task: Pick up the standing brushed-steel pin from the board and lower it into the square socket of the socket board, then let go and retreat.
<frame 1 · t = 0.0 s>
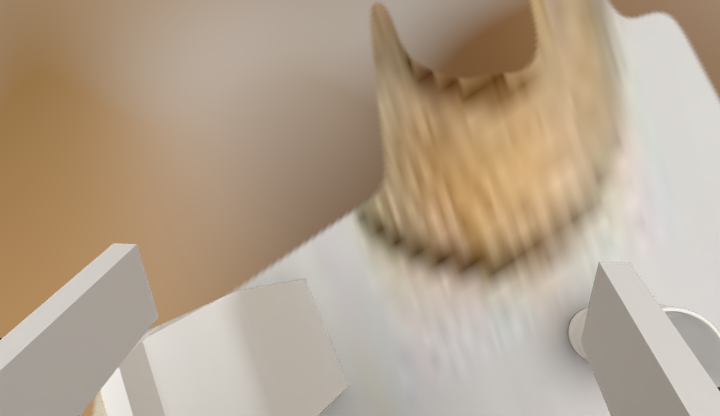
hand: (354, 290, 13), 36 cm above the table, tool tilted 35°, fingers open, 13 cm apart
milk: (278, 352, 49), on the table
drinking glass: (594, 333, 45), on the table
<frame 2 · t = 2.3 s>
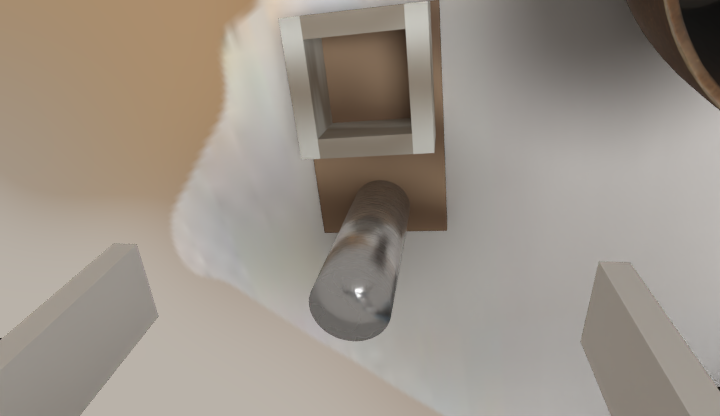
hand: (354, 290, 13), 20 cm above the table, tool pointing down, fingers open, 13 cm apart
pin: (381, 206, 33), point 1 cm above the table, touching socket board
socket board: (377, 126, 32), on the table
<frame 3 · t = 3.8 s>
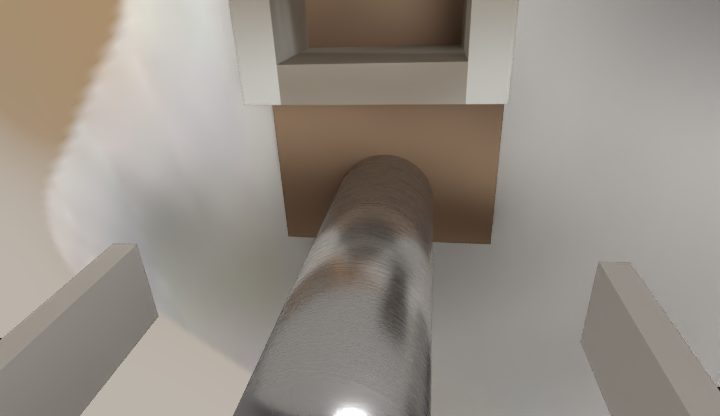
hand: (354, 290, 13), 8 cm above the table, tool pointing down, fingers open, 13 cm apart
pin: (385, 199, 20), point 1 cm above the table, touching socket board
socket board: (386, 60, 18), on the table
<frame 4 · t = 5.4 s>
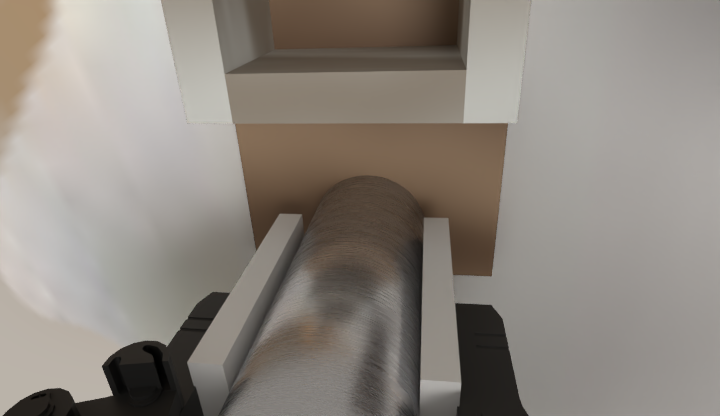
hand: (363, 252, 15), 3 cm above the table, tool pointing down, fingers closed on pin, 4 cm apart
pin: (369, 226, 17), point 1 cm above the table, touching gripper, socket board
socket board: (368, 64, 15), on the table
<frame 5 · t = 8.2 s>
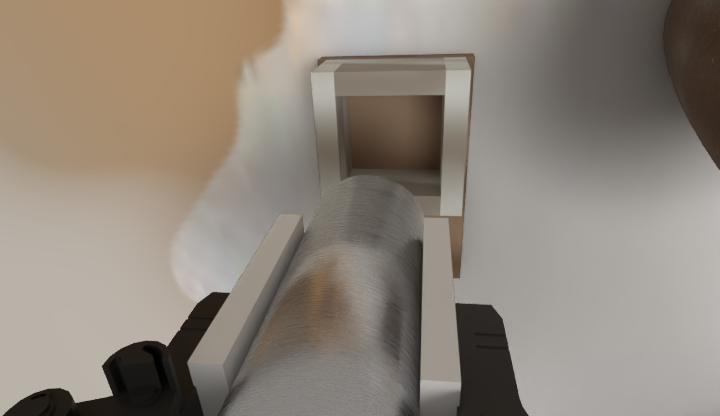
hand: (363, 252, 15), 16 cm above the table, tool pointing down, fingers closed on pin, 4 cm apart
pin: (369, 225, 17), point 14 cm above the table, touching gripper
socket board: (396, 172, 31), on the table
when the fingers open (6 cm above the table, at t = 11.0 s): pin drops 3 cm, resting on socket board.
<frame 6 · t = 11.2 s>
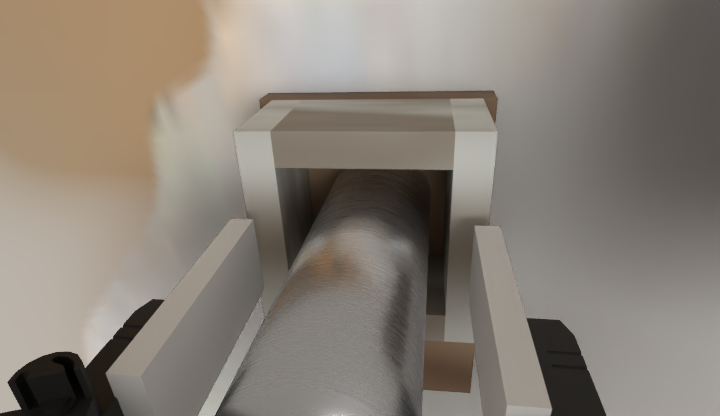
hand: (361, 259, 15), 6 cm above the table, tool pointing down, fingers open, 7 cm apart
pin: (381, 196, 19), point 1 cm above the table, touching socket board
socket board: (381, 251, 22), on the table
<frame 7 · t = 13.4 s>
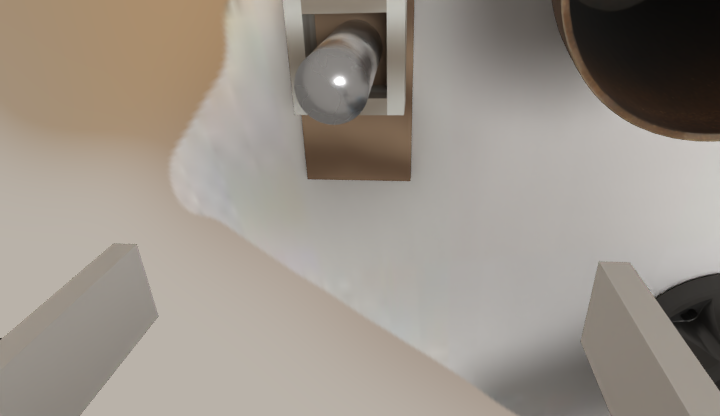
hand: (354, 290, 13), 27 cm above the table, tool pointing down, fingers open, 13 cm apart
pin: (356, 47, 35), point 1 cm above the table, touching socket board
socket board: (356, 90, 38), on the table
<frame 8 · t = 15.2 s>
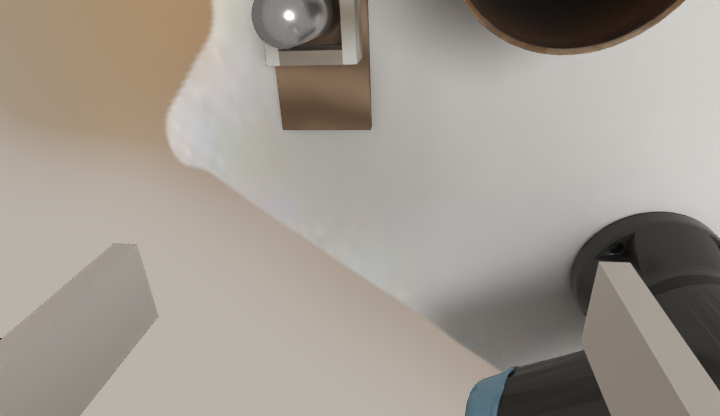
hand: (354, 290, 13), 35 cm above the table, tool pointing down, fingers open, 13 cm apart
pin: (319, 11, 41), point 1 cm above the table, touching socket board
socket board: (322, 50, 44), on the table
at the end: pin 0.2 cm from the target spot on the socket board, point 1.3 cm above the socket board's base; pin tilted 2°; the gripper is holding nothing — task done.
